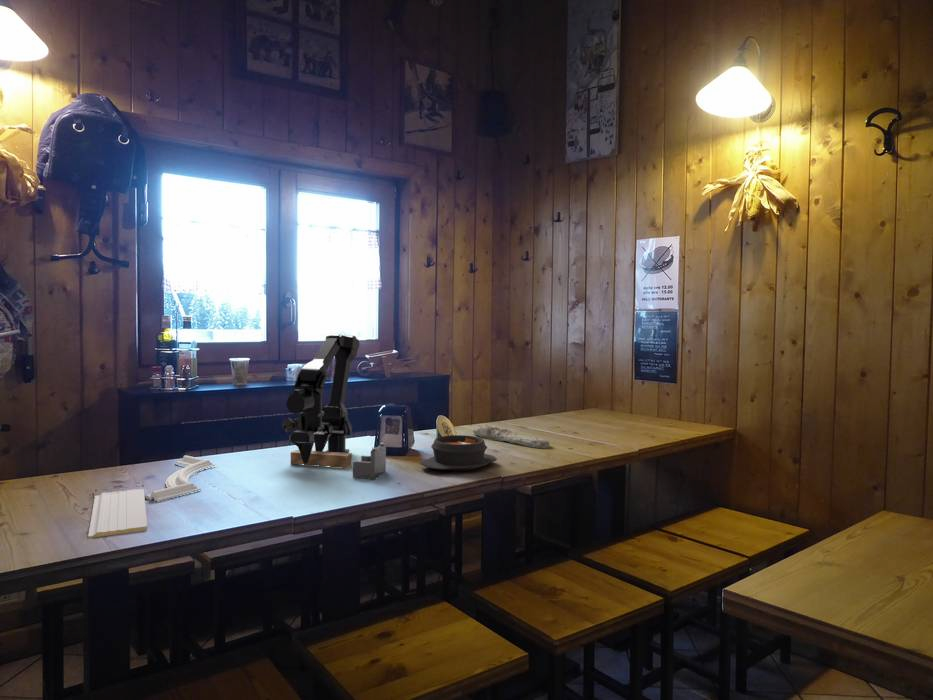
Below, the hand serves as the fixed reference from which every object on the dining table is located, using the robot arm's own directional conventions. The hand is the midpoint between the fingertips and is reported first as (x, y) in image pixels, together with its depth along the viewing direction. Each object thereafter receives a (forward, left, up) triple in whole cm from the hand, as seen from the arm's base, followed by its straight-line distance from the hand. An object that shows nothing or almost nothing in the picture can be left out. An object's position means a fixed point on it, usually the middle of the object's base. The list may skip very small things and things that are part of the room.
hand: (312, 460), depth 189 cm
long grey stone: (-52, +54, -2) cm, 75 cm away
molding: (+25, -28, -2) cm, 38 cm away
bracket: (+8, +21, -1) cm, 23 cm away
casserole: (-8, +44, -2) cm, 44 cm away
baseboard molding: (+54, -23, -2) cm, 59 cm away
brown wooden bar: (0, +3, -2) cm, 3 cm away
